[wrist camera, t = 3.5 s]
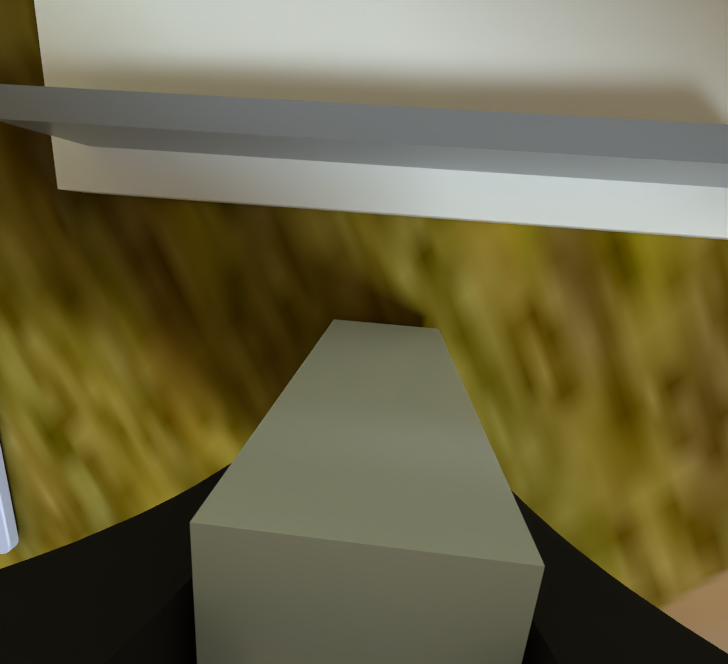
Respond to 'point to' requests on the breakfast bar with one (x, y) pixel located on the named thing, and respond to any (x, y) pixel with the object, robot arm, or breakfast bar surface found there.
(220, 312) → the breakfast bar surface
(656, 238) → the breakfast bar surface
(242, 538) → the white rectangular block
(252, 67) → the dish rack
